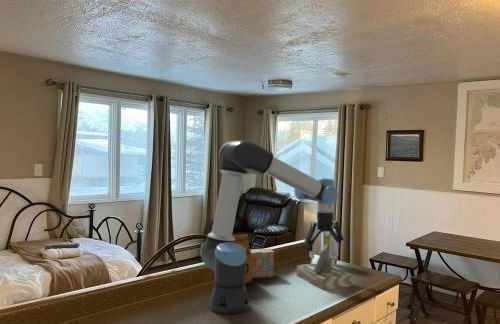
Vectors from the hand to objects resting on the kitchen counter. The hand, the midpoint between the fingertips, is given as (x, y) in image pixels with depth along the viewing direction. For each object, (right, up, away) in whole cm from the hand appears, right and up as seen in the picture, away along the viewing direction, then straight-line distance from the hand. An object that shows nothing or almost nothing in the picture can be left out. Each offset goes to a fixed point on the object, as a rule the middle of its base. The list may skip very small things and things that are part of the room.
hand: (323, 256), depth 188 cm
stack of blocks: (-34, -11, +5) cm, 36 cm away
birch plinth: (0, -11, 0) cm, 11 cm away
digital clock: (-1, -6, 0) cm, 6 cm away
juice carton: (+8, -11, +28) cm, 31 cm away
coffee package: (-40, -11, -6) cm, 42 cm away
